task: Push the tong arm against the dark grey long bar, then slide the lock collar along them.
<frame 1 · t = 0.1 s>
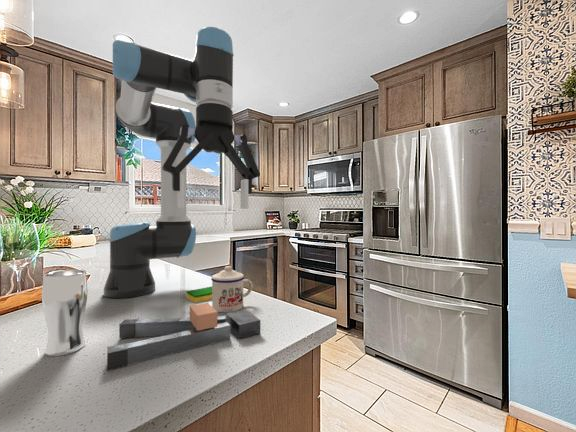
hand: (214, 208, 59), 28 cm above the countertop, fingers open, 13 cm apart
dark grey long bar: (225, 333, 62), on the countertop
teacup with lid: (232, 307, 80), on the countertop
beer glass: (65, 349, 55), on the countertop
dish sponge: (211, 297, 91), on the countertop
lock collar: (203, 316, 59), point 5 cm above the countertop, slide at 0.0 cm
tong arm: (175, 326, 62), point 2 cm above the countertop, hinge at 25.0°
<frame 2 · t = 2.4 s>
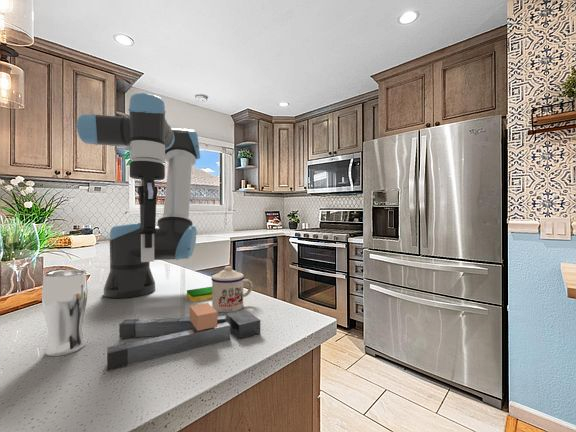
hand: (147, 261, 66), 15 cm above the countertop, fingers closed
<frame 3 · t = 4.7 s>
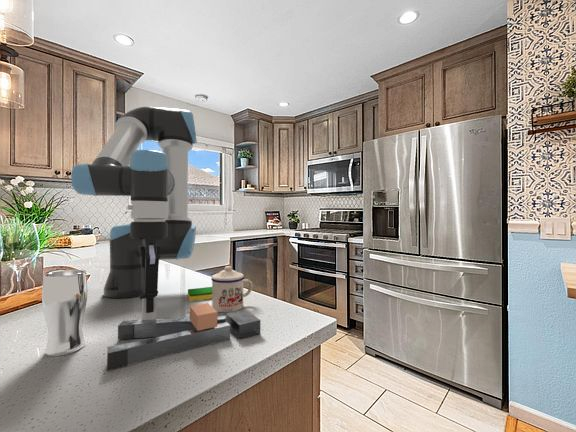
hand: (149, 325, 63), 2 cm above the countertop, fingers closed
tong arm: (174, 326, 61), point 2 cm above the countertop, hinge at 23.2°, touching gripper
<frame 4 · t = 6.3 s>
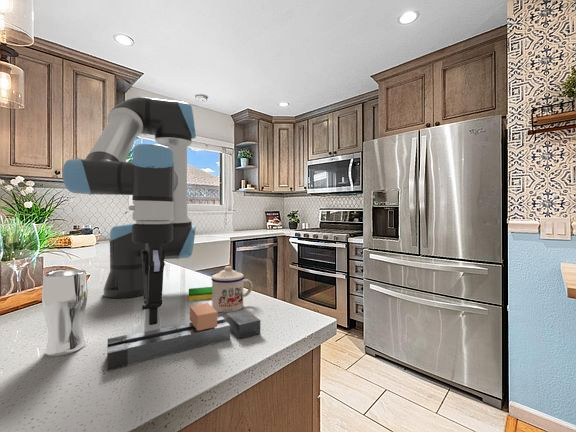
hand: (152, 338, 57), 1 cm above the countertop, fingers closed
tong arm: (171, 335, 57), point 2 cm above the countertop, hinge at -0.1°, touching gripper
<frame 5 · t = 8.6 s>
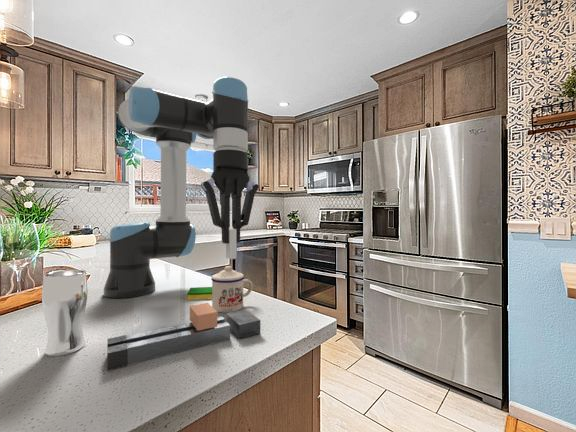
hand: (231, 257, 62), 17 cm above the countertop, fingers closed
tong arm: (171, 335, 57), point 2 cm above the countertop, hinge at -0.1°
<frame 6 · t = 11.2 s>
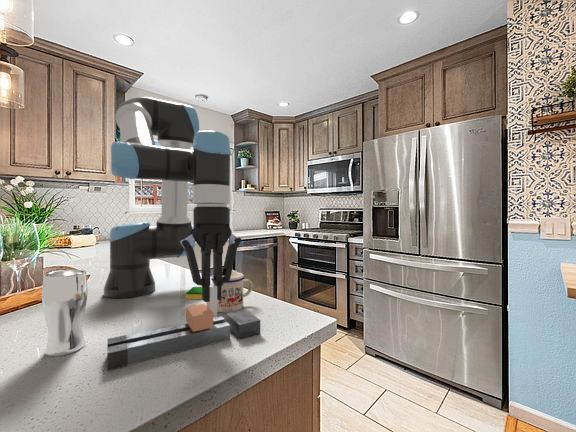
hand: (211, 315, 60), 5 cm above the countertop, fingers closed
lock collar: (199, 316, 58), point 5 cm above the countertop, slide at 0.9 cm, touching gripper
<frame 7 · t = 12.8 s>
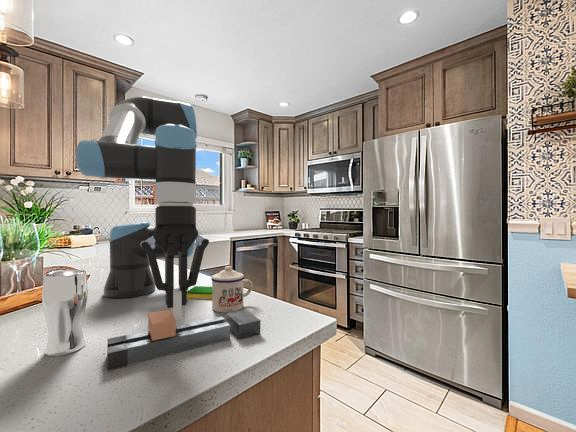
hand: (176, 322, 56), 5 cm above the countertop, fingers closed
lock collar: (161, 324, 55), point 5 cm above the countertop, slide at 8.1 cm, touching gripper
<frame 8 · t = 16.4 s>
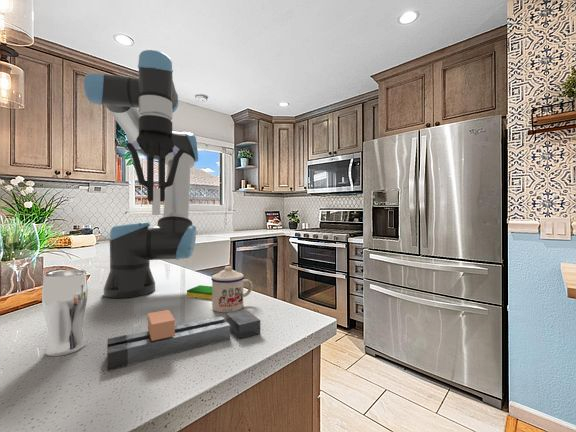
hand: (156, 214, 69), 26 cm above the countertop, fingers closed
lock collar: (160, 324, 54), point 5 cm above the countertop, slide at 8.2 cm
at the end: tong arm at +0° (first picture: +25°); lock collar slide at 8.2 cm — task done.
